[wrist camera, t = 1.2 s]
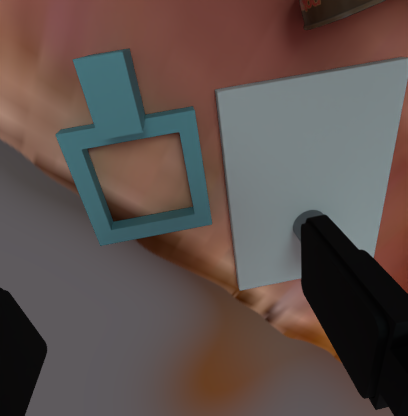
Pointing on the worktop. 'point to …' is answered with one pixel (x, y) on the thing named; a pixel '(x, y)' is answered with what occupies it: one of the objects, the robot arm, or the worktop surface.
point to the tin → (331, 10)
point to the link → (121, 132)
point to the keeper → (307, 160)
